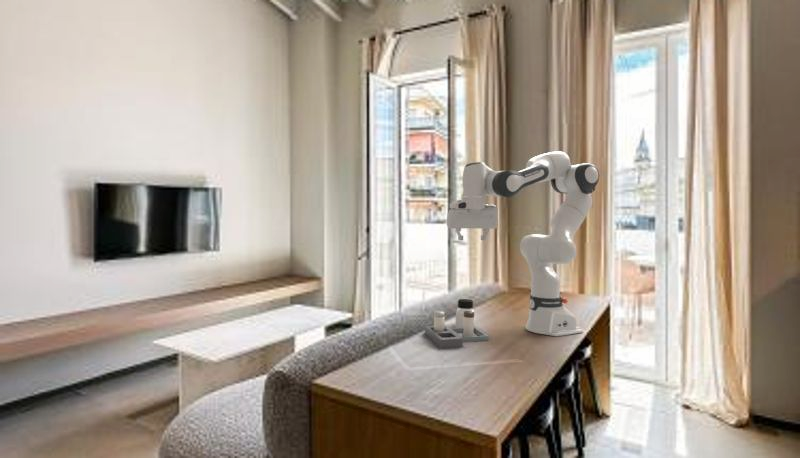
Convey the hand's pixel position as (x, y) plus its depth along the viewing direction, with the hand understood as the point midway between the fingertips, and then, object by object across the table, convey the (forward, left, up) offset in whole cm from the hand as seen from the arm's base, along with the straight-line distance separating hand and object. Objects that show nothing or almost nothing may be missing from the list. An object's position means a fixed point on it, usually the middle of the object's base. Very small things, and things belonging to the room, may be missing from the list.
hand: (472, 240), depth 188 cm
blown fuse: (+2, +5, -36) cm, 37 cm away
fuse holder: (+14, +8, -37) cm, 40 cm away
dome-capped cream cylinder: (+14, +4, -36) cm, 39 cm away
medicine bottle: (-2, -9, -37) cm, 38 cm away
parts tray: (+2, +5, -37) cm, 37 cm away
